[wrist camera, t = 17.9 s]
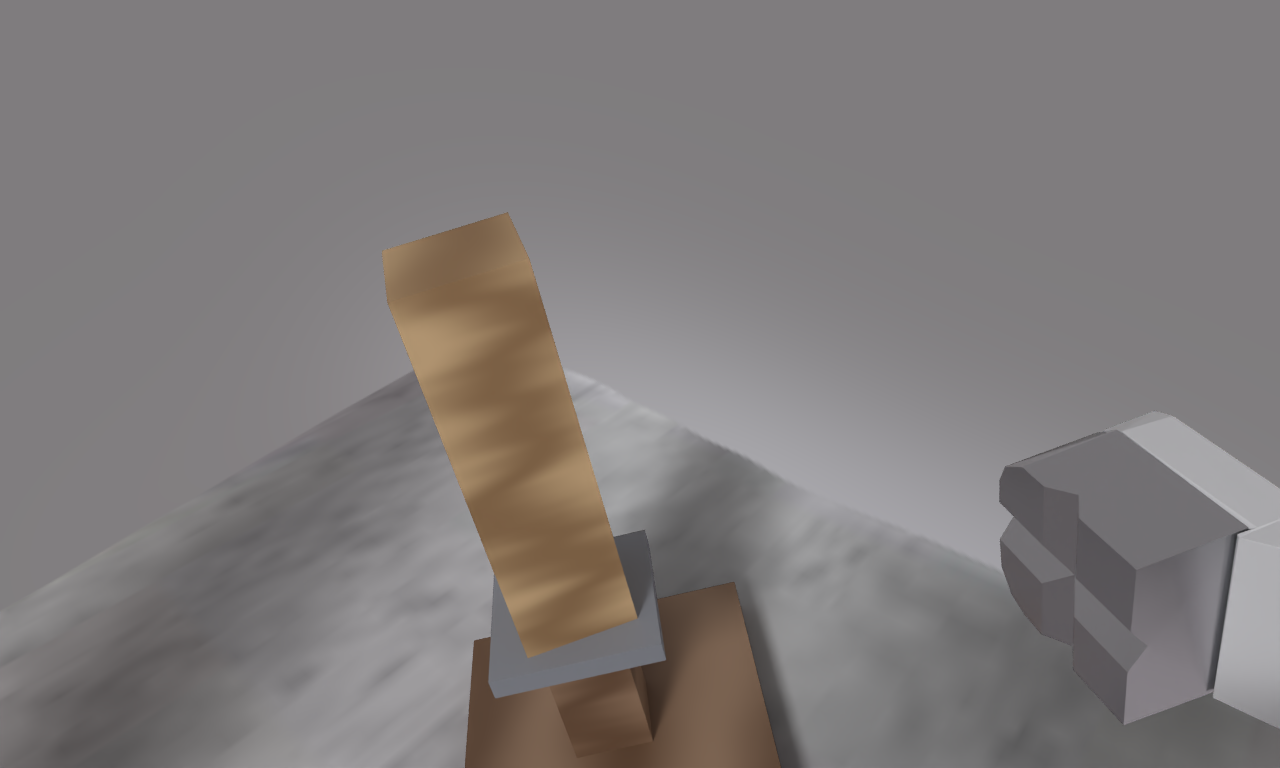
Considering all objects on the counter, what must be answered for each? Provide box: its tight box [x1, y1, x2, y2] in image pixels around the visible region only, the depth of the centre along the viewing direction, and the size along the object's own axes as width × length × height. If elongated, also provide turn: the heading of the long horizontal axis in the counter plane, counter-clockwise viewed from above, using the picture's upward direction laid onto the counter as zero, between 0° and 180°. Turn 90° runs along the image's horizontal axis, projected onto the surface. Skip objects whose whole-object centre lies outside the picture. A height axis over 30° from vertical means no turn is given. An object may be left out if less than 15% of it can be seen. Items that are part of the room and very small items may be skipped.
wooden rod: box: [382, 212, 638, 658], centre depth 32 cm, size 4×4×14 cm
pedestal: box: [465, 530, 781, 768], centre depth 38 cm, size 12×12×8 cm
